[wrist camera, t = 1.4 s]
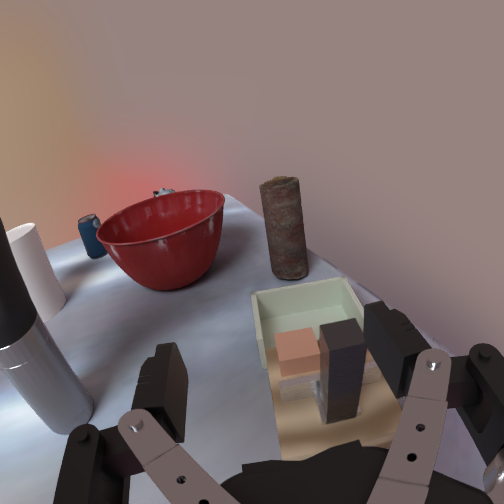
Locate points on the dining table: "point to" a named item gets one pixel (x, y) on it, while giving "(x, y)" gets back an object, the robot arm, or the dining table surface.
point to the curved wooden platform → (325, 436)
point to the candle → (285, 227)
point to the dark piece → (336, 373)
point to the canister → (36, 270)
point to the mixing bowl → (166, 238)
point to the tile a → (297, 352)
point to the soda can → (91, 236)
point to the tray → (302, 309)
